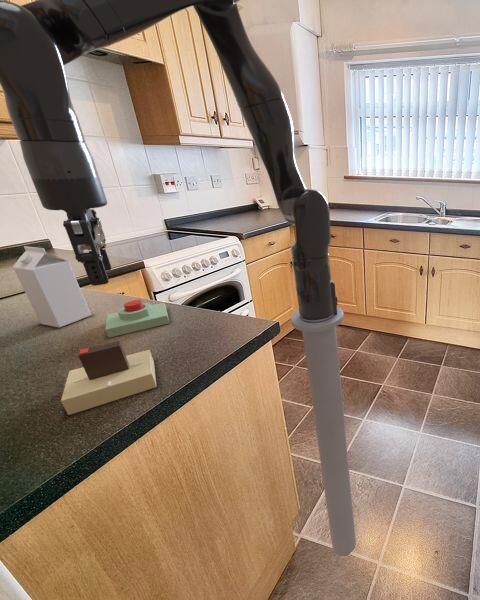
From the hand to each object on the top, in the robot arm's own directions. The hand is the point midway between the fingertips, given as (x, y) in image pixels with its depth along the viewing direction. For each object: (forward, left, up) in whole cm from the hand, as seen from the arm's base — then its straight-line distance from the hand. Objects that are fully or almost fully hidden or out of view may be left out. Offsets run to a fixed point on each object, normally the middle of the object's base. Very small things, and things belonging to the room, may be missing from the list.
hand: (102, 277), depth 57 cm
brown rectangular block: (+4, +2, -17) cm, 17 cm away
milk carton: (+15, -39, -20) cm, 46 cm away
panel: (+4, +2, -20) cm, 20 cm away
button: (0, -26, -16) cm, 31 cm away
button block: (0, -26, -20) cm, 33 cm away
